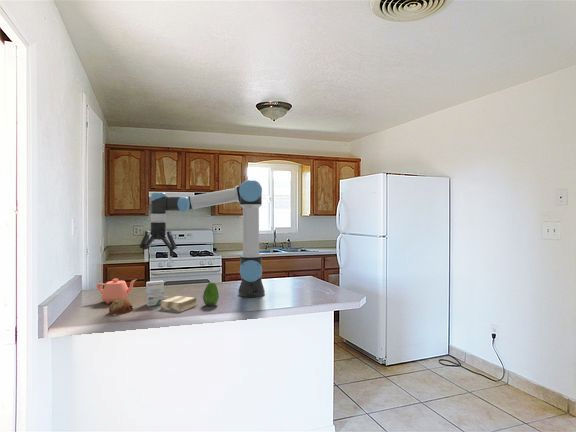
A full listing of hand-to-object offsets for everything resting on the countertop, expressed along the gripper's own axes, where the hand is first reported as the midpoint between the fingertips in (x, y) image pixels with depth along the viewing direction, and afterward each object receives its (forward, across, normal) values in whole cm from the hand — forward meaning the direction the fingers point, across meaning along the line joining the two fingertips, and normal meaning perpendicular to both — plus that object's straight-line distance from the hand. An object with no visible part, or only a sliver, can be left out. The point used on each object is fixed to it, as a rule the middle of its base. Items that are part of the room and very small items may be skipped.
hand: (158, 262), depth 203 cm
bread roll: (+21, +6, +22) cm, 31 cm away
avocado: (+21, -31, +3) cm, 38 cm away
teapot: (+21, +21, +4) cm, 30 cm away
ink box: (+21, -3, +7) cm, 22 cm away
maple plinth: (+20, -18, +11) cm, 29 cm away
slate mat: (+21, -15, +10) cm, 27 cm away
